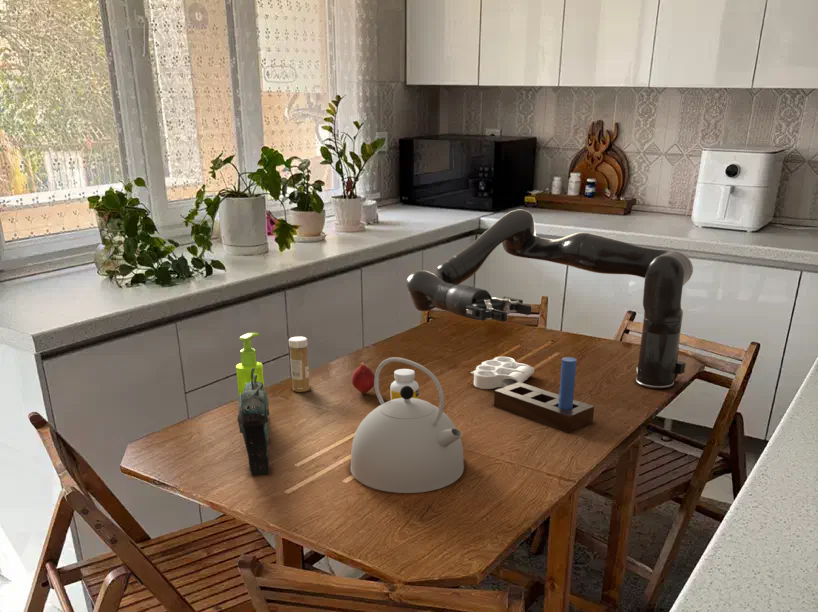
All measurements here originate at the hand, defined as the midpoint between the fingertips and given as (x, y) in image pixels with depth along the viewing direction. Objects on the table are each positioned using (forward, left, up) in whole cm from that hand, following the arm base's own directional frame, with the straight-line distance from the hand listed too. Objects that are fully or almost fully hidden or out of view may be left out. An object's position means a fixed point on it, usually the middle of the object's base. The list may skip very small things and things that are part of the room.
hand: (518, 313), depth 182 cm
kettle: (+43, +11, -22) cm, 50 cm away
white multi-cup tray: (-10, -13, -22) cm, 27 cm away
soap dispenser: (+52, -33, -22) cm, 66 cm away
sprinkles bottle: (+33, -42, -22) cm, 58 cm away
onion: (+23, -29, -22) cm, 43 cm away
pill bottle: (+27, -9, -22) cm, 36 cm away
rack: (+1, +10, -22) cm, 24 cm away
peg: (+2, +17, -22) cm, 27 cm away
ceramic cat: (+63, -14, -22) cm, 69 cm away
